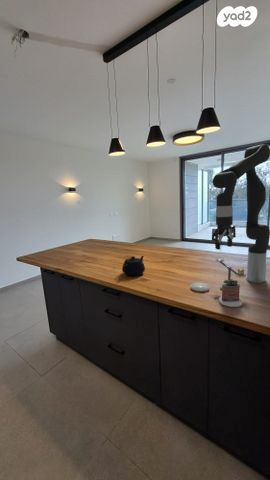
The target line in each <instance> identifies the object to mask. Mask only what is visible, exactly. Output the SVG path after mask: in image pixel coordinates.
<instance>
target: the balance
mask: <svg viewBox="0 0 270 480" xmlns="http://www.w3.org/2000/svg"><path fill="white" fill-rule="evenodd" d="M215 261H216V262H219V263H220V265H223V266H224V267H225V268H227V270H228V271H227V272H228V273H227V274H228V275H227V280H230V279H231V276H232V275H231V274H232V273H234V274H235V276H236V277H238V278H247V274H245V269H243V268H238V269H237V271H235V270H234V269H233V268H232V267H231V266H228V265H227V264H226V263H224V262H225V259H223V258H215ZM228 284H229V283H228ZM219 288H220V290H221V291H222V286H220V287H219Z"/></svg>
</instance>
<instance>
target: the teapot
mask: <svg viewBox="0 0 270 480" xmlns="http://www.w3.org/2000/svg"><path fill="white" fill-rule="evenodd" d="M121 270H122V272H123V274H124V275H126V276H129V277H137V276H141V275H143V273H144V272H145V270H146V267H145V264H144V255H142V256H141V257H140V258H138V257H136V256H133V255H132V256H130V258H126V259H125V260H124V261H123V264H122V268H121Z"/></svg>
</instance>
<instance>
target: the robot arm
mask: <svg viewBox="0 0 270 480" xmlns="http://www.w3.org/2000/svg"><path fill="white" fill-rule="evenodd" d="M243 155H244V157H243V159H241V160H238V161H237V162H235V163H233V164H232V165H231V166H229V167H228V168H226V169H224V170H221V171H220V172H217V173H216V174H214V176H213V178H212V185H213V187H214V188H216V189H224V190H223V192H221V193H219V194H217V195H216V208H215V226H217V227H216V228H212V230H211V231H212V232H211V241H213V242H214V243H215V244H214V248H215V250H218V251H219V250H221V240H222V239H223V238H224V237H226V238H227V240H226V241H227V247H233V240H234V238H236V237H237V236H236V233H237V232H236V225H233V220H234V219H233V217H234V216H233V215H234V214H233V213H234V212H233V210H234V209H233V197H234V192H235V189H236V186H237V183H238V180H239V179H240V178H242V177H243V176H244V175H245V177H246V224H245V225H246V227H245V233H246V234H245V235H246V237H247V238H248V239H249V240H253V241H255V243H254V244H253V245H250V246H248V247H247V248H248V250H247V252H248V253H247V266H246V267H247V268H246V269H247V270H246V271H247V272H246V280H247V281H249V282H252V283H256V284H257V283H258V284H260V283H264V282H265V281H266V275H267V274H266V273H267V250H268V248H269V244H270V227H269V226H268V225H267V224H259V215H260V212H261V210H262V208H263V207H264V205H265V203H266V199H267V197H266V196H267V195H266V194H267V191H266V186H265V184H264V183H263V181H262V180H261V178H259V176H258V174H257V171H256V167H257V166H260V165H261V164H264V163H265V162H267V161H268V160H269V159H270V146H269V145H267V143H266V144H263V143H262V144H257V145H254V146H251V147H248V148H246V149H245V151H244V154H243Z"/></svg>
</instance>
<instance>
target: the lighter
mask: <svg viewBox="0 0 270 480" xmlns="http://www.w3.org/2000/svg"><path fill="white" fill-rule="evenodd" d="M228 283H229V284H228ZM221 287H222V290H221V296H222V301H224V302H236V301H239V299H240V289H241V284H239V282H238V280H237V279H230V280H228V279H224V280H223V284H221Z"/></svg>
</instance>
